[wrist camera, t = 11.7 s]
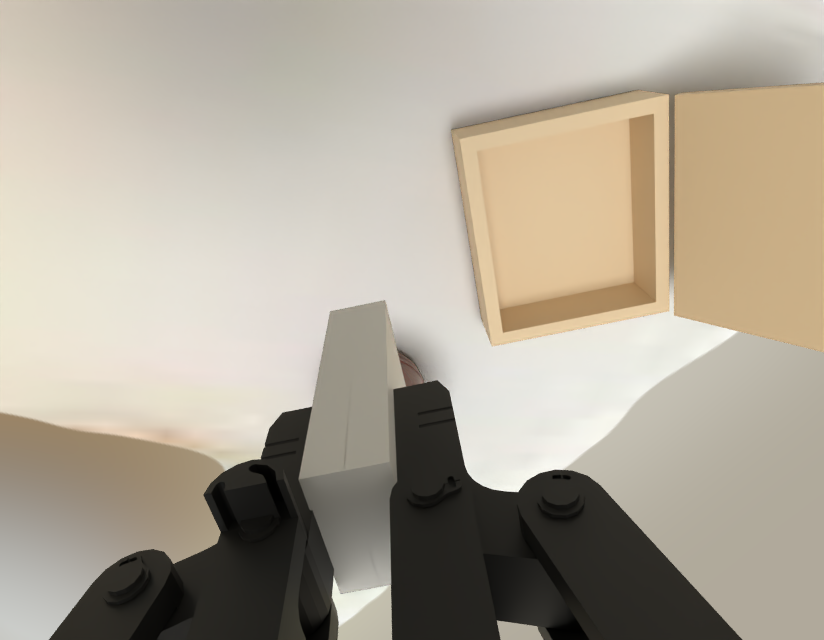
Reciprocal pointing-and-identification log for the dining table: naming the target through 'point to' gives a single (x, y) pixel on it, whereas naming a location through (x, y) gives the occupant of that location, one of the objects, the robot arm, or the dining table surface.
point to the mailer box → (568, 214)
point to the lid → (751, 211)
